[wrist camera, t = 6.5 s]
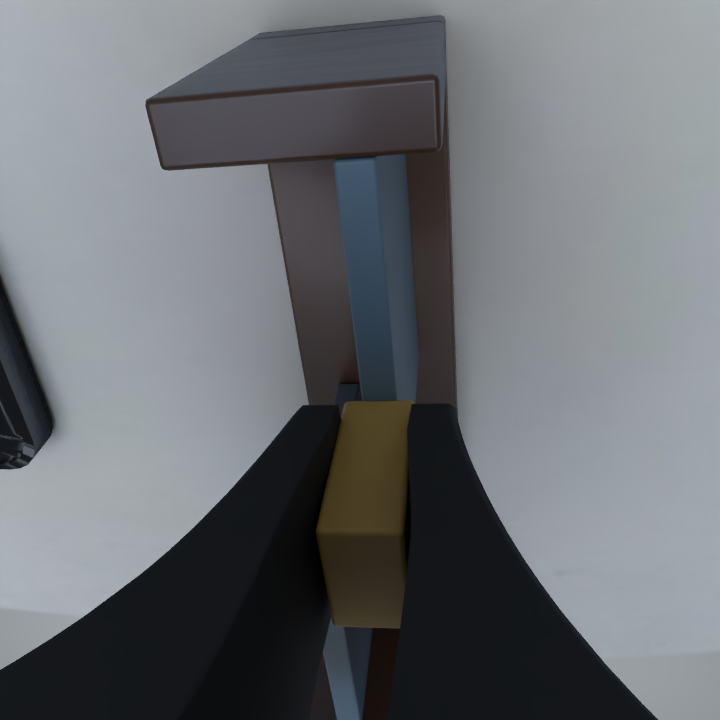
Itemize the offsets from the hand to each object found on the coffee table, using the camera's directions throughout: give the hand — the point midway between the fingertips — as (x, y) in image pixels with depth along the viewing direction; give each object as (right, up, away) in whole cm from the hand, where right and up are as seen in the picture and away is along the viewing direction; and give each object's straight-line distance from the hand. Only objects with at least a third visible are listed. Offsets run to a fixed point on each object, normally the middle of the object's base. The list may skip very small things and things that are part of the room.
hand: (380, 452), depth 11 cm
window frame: (0, +2, +7) cm, 7 cm away
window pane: (+1, +4, +4) cm, 6 cm away
